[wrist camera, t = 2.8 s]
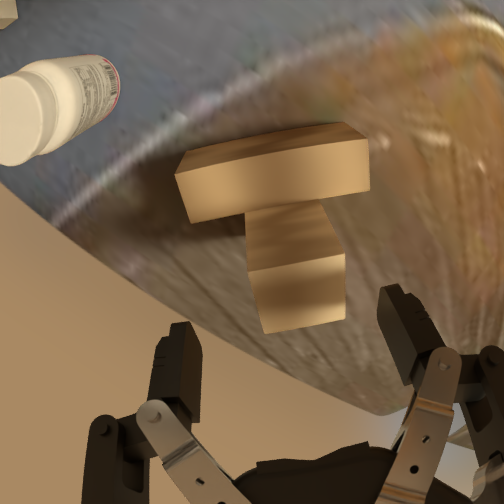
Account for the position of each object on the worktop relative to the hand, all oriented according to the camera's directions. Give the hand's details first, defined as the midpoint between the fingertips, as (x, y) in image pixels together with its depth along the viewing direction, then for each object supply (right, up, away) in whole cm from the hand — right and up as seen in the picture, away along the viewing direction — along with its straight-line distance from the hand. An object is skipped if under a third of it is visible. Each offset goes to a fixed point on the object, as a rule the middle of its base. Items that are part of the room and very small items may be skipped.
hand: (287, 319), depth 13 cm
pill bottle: (-12, +13, +3) cm, 18 cm away
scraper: (0, +7, +7) cm, 10 cm away
